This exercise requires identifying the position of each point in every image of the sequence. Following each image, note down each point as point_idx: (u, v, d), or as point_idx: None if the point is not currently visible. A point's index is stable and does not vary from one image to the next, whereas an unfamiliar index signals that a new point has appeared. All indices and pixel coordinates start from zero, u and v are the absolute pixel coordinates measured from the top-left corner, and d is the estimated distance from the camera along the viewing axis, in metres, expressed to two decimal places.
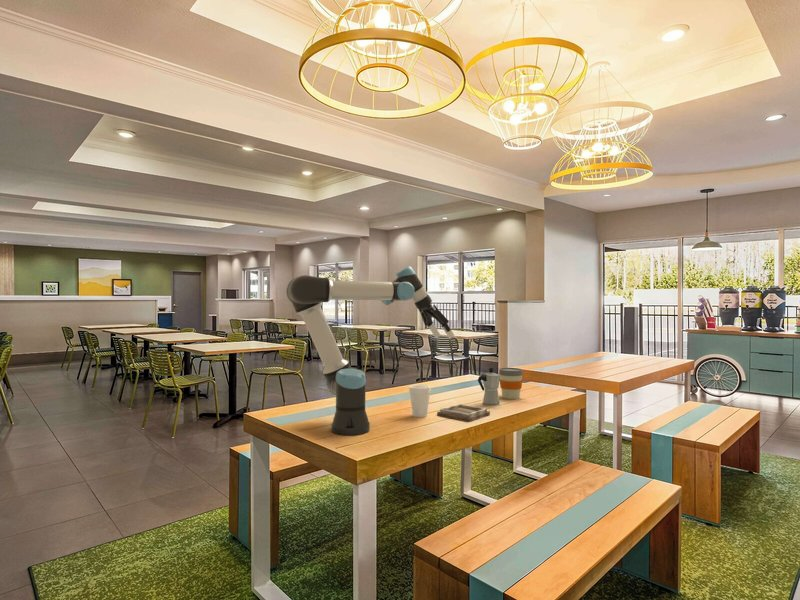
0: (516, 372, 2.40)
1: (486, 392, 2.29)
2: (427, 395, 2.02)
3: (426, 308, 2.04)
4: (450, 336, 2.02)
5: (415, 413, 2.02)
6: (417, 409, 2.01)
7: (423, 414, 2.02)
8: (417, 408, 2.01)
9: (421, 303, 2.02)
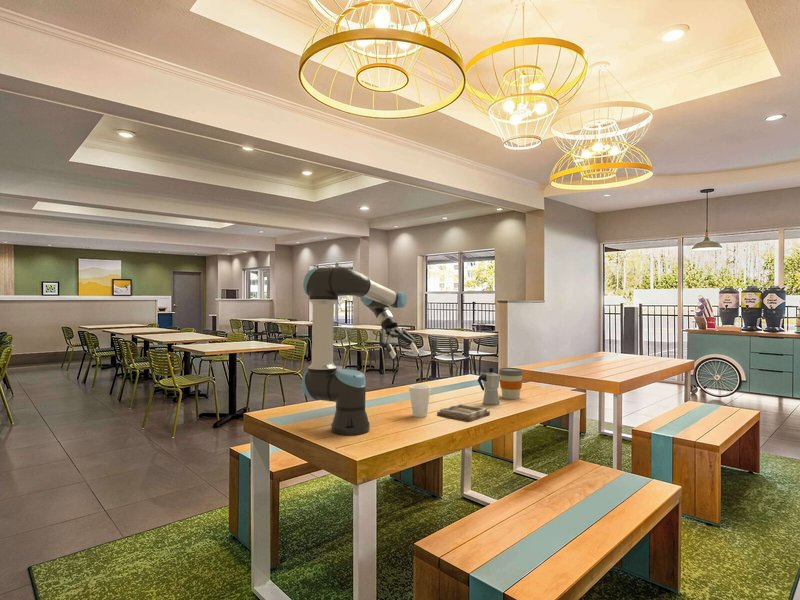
0: (516, 372, 2.40)
1: (486, 392, 2.29)
2: (427, 395, 2.02)
3: (395, 328, 2.23)
4: None
5: (415, 413, 2.02)
6: (417, 409, 2.01)
7: (423, 414, 2.02)
8: (417, 408, 2.01)
9: None
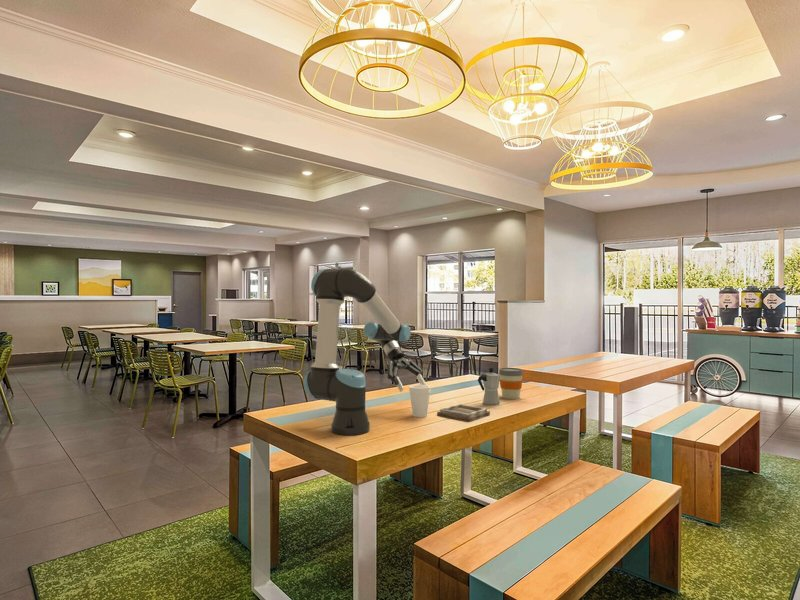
0: (516, 372, 2.40)
1: (486, 392, 2.29)
2: (427, 395, 2.02)
3: (402, 358, 2.20)
4: None
5: (415, 413, 2.02)
6: (417, 409, 2.01)
7: (423, 414, 2.02)
8: (417, 408, 2.01)
9: (401, 351, 2.22)
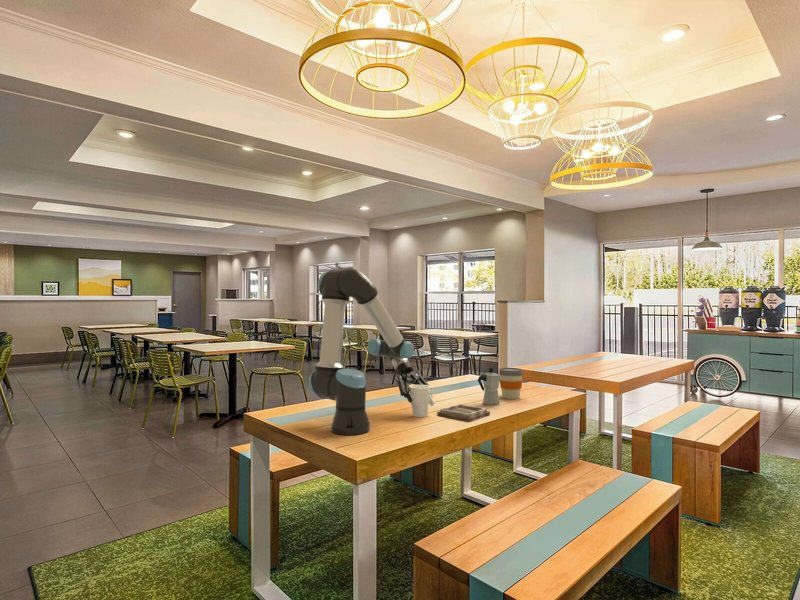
0: (516, 372, 2.40)
1: (486, 392, 2.29)
2: (427, 395, 2.02)
3: (411, 372, 2.12)
4: None
5: (415, 413, 2.02)
6: (417, 409, 2.01)
7: (423, 414, 2.02)
8: (417, 408, 2.01)
9: (410, 364, 2.14)
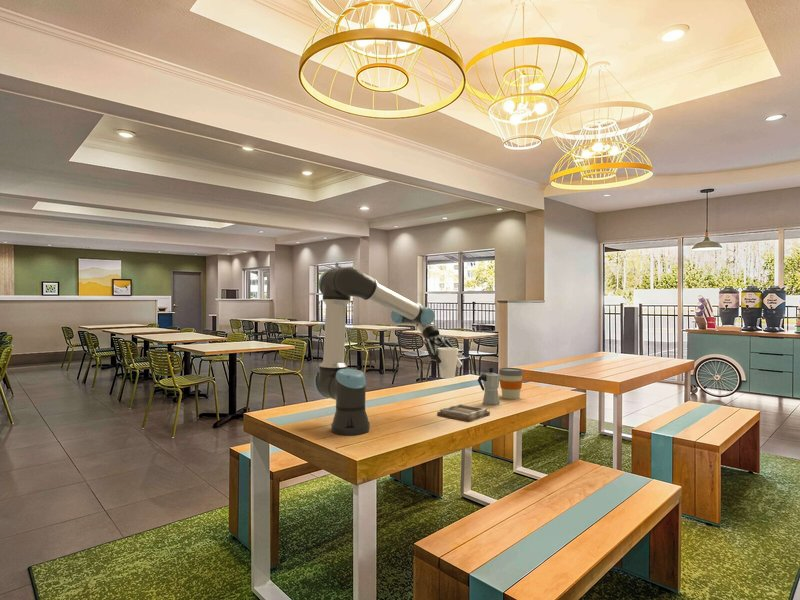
0: (516, 372, 2.40)
1: (486, 392, 2.29)
2: (455, 356, 2.04)
3: (437, 336, 2.15)
4: None
5: (443, 374, 2.04)
6: (446, 370, 2.04)
7: (451, 375, 2.04)
8: (445, 369, 2.04)
9: None
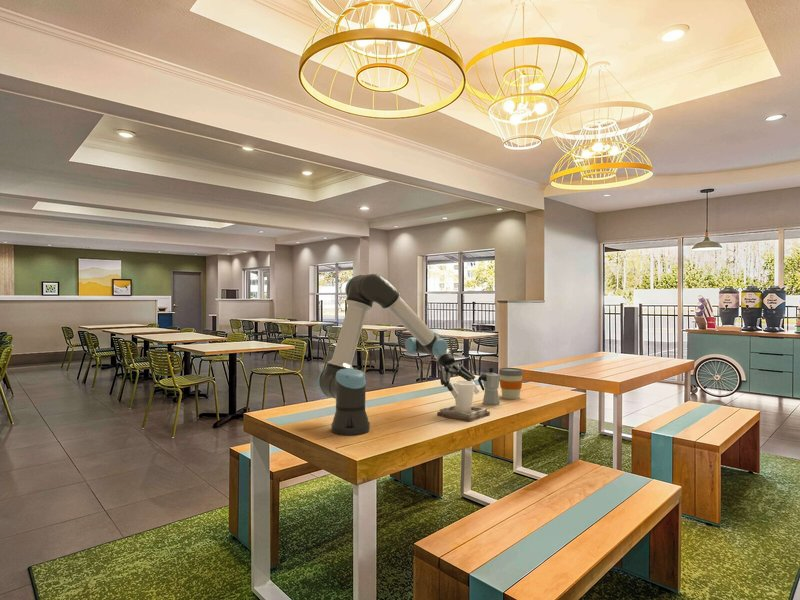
0: (516, 372, 2.40)
1: (486, 392, 2.29)
2: (472, 391, 2.03)
3: (453, 363, 2.14)
4: None
5: (459, 409, 2.03)
6: (462, 405, 2.02)
7: (467, 410, 2.03)
8: (462, 404, 2.02)
9: None
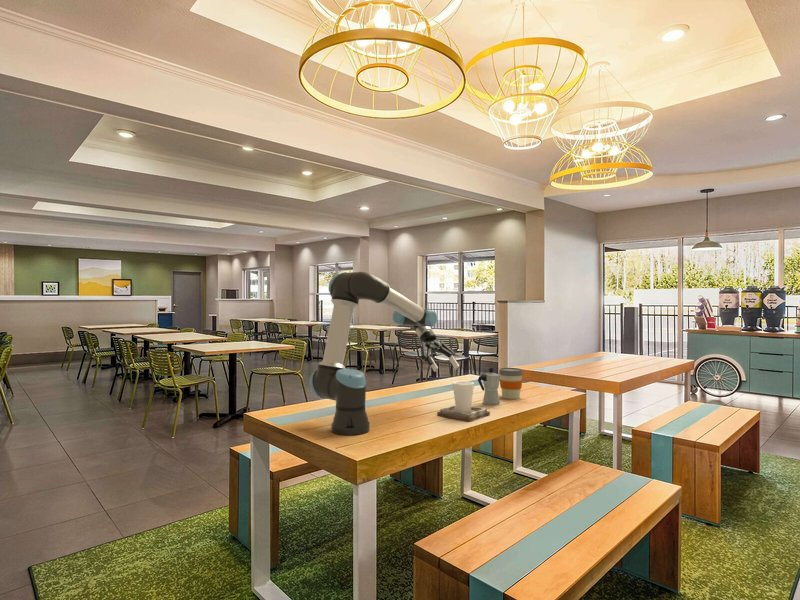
0: (516, 372, 2.40)
1: (486, 392, 2.29)
2: (471, 391, 2.03)
3: (434, 340, 2.24)
4: None
5: (459, 409, 2.03)
6: (461, 405, 2.02)
7: (467, 410, 2.03)
8: (461, 404, 2.02)
9: None
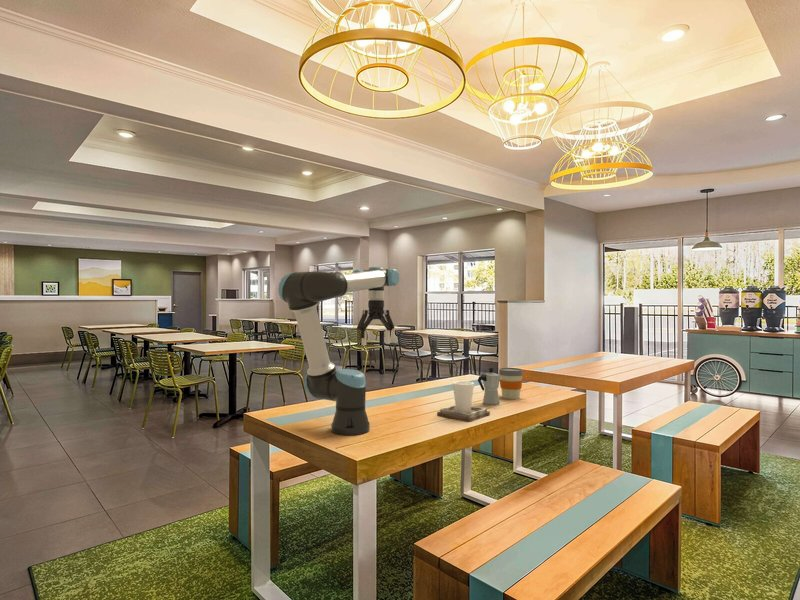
0: (516, 372, 2.40)
1: (486, 392, 2.29)
2: (471, 391, 2.03)
3: (380, 310, 2.17)
4: None
5: (459, 409, 2.03)
6: (461, 405, 2.02)
7: (467, 410, 2.03)
8: (461, 404, 2.02)
9: None
